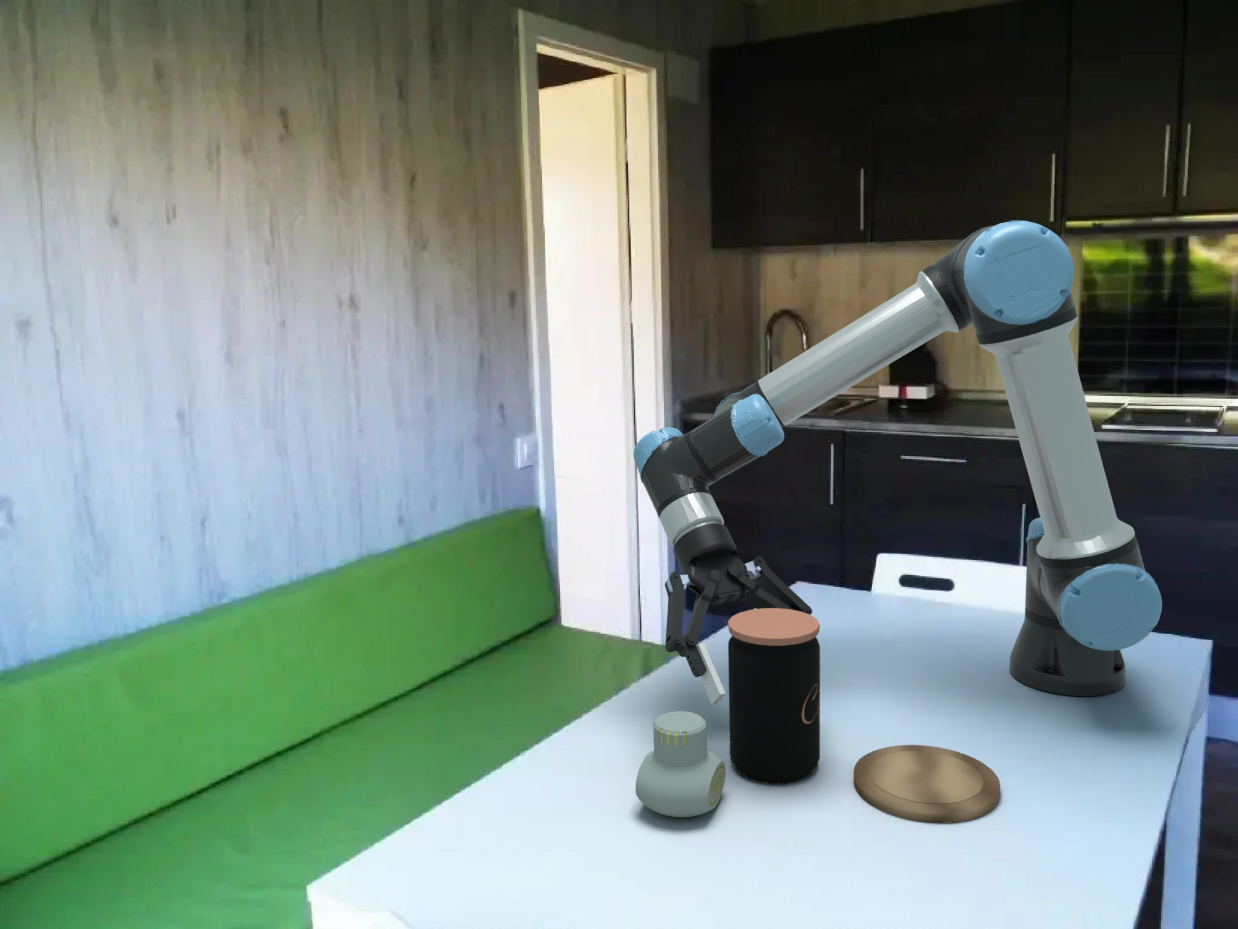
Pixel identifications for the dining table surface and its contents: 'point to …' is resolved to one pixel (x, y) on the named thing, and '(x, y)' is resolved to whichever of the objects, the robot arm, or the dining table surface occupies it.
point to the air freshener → (680, 768)
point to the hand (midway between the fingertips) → (767, 687)
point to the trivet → (926, 783)
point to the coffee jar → (774, 694)
